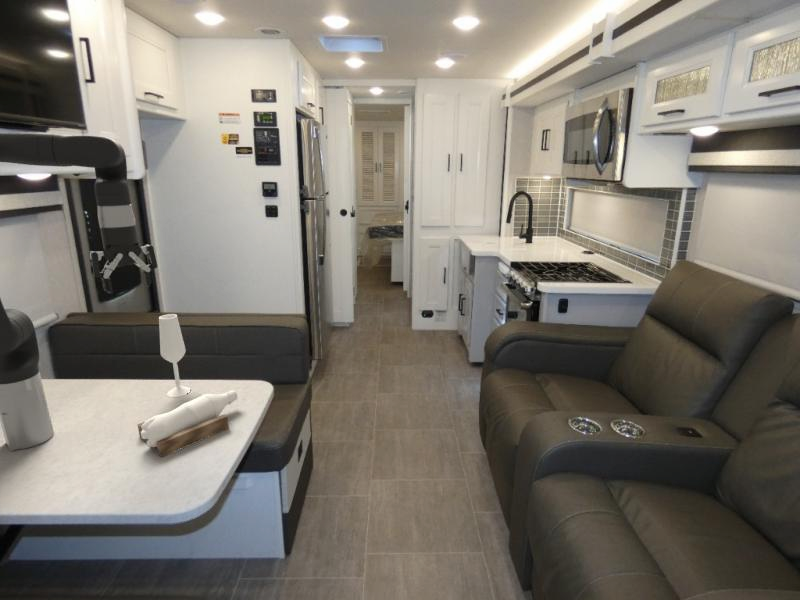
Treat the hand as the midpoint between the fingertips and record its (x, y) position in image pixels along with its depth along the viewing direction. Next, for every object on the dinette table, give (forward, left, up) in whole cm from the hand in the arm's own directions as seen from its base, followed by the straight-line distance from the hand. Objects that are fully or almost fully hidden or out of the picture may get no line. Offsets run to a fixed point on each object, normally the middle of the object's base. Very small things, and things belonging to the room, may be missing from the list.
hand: (128, 289), depth 117 cm
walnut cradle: (+3, -14, -36) cm, 39 cm away
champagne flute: (+12, +10, -36) cm, 40 cm away
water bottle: (-7, -16, -32) cm, 36 cm away
